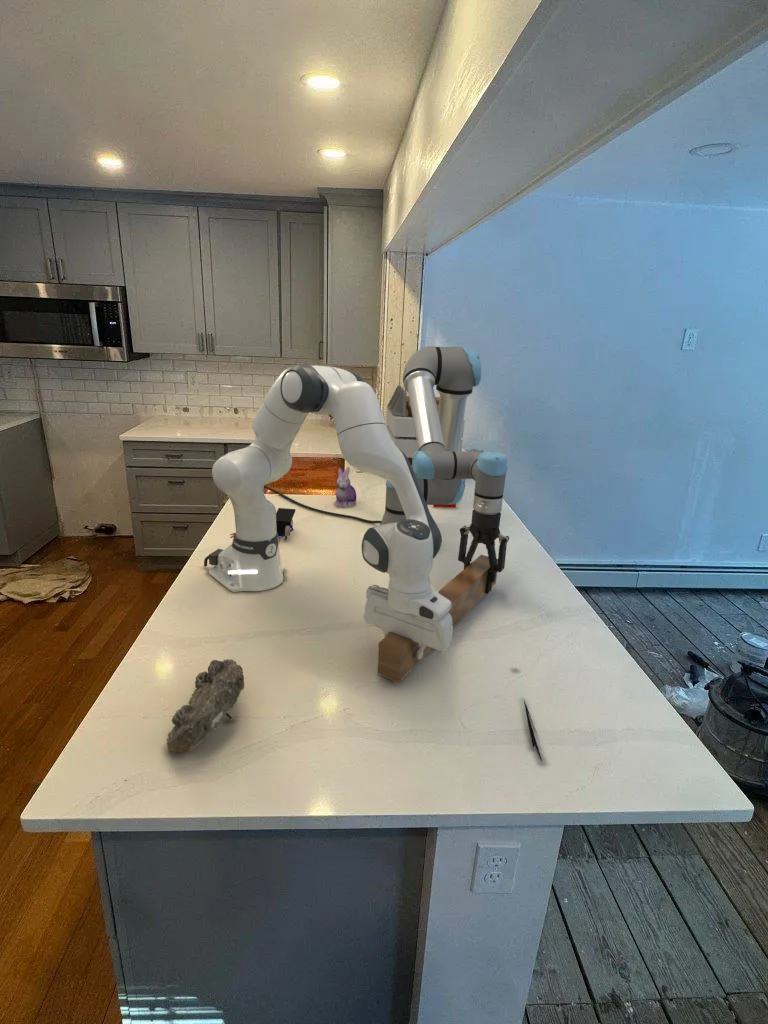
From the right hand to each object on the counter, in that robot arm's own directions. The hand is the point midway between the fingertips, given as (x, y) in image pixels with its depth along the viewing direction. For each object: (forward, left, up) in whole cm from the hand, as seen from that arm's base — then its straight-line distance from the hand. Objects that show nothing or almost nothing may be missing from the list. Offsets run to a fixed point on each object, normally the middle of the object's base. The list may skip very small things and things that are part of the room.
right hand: (478, 588), depth 158 cm
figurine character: (-69, -21, -2) cm, 72 cm away
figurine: (-83, +16, -2) cm, 84 cm away
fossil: (+2, -80, -2) cm, 80 cm away
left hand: (+13, -40, +2) cm, 42 cm away
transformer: (-99, +73, -2) cm, 124 cm away
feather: (+38, -30, -2) cm, 49 cm away
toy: (-68, +55, -2) cm, 87 cm away
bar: (+6, -20, -1) cm, 21 cm away
